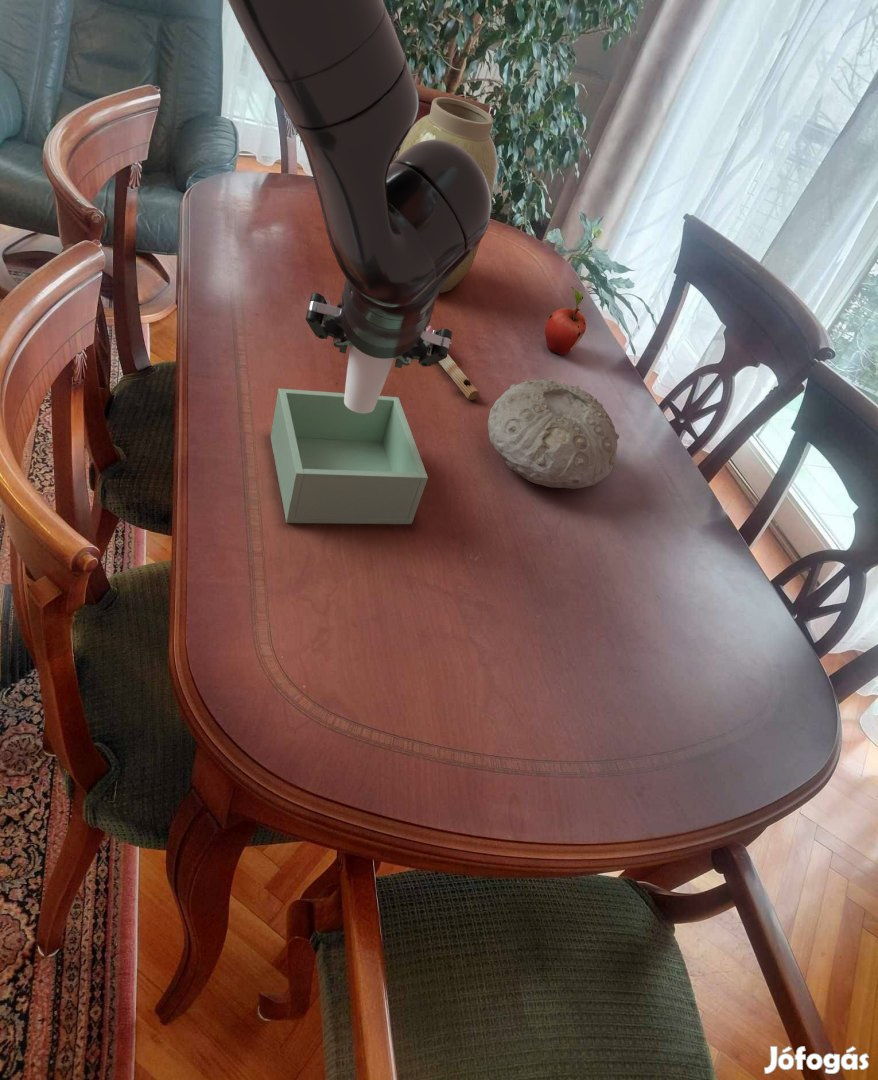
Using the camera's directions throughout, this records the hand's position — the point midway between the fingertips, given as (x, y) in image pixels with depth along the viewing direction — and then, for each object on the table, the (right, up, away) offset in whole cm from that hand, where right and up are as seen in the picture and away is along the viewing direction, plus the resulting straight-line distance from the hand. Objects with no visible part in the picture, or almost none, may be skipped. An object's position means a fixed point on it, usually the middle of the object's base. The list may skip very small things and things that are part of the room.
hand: (372, 351), depth 82 cm
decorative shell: (+21, -9, +24) cm, 33 cm away
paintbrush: (+7, +7, +35) cm, 37 cm away
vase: (+3, +26, +54) cm, 60 cm away
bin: (-5, -13, +10) cm, 17 cm away
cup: (-2, -5, +3) cm, 6 cm away
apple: (+27, +12, +48) cm, 57 cm away
